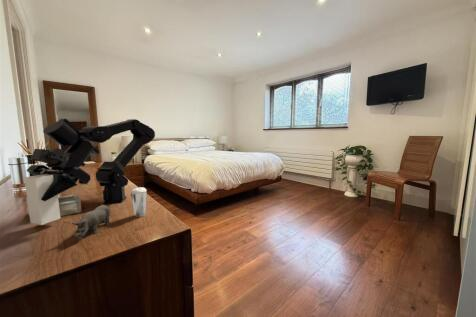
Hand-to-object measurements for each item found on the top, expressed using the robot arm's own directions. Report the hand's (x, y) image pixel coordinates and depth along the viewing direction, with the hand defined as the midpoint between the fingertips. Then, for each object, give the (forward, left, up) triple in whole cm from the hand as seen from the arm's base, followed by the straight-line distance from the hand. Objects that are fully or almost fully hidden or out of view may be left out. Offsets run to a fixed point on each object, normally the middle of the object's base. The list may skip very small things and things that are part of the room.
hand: (36, 199), depth 54 cm
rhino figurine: (-15, +6, -9) cm, 19 cm away
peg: (-1, -1, -7) cm, 7 cm away
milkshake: (-25, -3, -9) cm, 26 cm away
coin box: (+2, -13, -8) cm, 16 cm away
